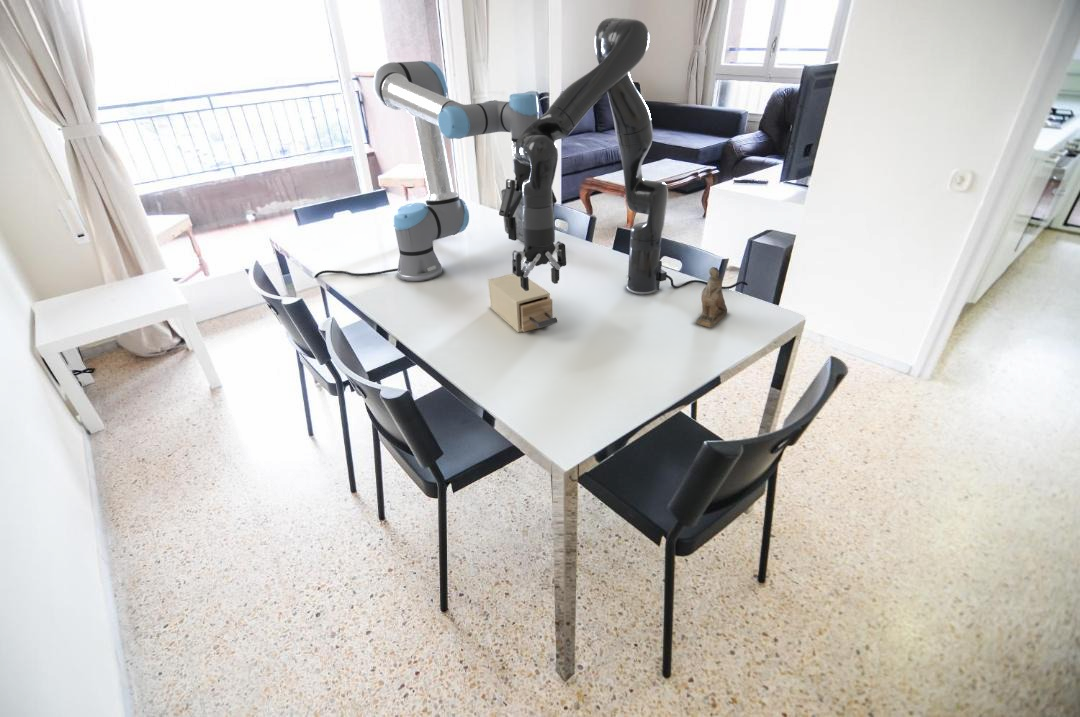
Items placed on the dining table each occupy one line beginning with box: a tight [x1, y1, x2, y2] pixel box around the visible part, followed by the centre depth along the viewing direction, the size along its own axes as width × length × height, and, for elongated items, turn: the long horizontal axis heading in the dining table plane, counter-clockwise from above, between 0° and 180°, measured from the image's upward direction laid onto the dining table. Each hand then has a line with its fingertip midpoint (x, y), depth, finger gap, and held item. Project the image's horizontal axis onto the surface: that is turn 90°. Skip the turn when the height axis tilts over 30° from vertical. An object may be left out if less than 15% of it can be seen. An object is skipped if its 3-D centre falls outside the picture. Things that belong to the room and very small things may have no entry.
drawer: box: [519, 297, 558, 333], centre depth 139 cm, size 23×9×7 cm, turn 29°
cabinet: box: [487, 273, 551, 333], centre depth 143 cm, size 18×10×9 cm, turn 29°
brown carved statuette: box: [695, 266, 728, 328], centre depth 135 cm, size 12×6×18 cm, turn 136°
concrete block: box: [500, 187, 556, 244], centre depth 195 cm, size 27×9×20 cm, turn 36°
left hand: (530, 233), depth 146 cm, fingers open, 13 cm apart
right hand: (540, 286), depth 128 cm, fingers open, 8 cm apart
